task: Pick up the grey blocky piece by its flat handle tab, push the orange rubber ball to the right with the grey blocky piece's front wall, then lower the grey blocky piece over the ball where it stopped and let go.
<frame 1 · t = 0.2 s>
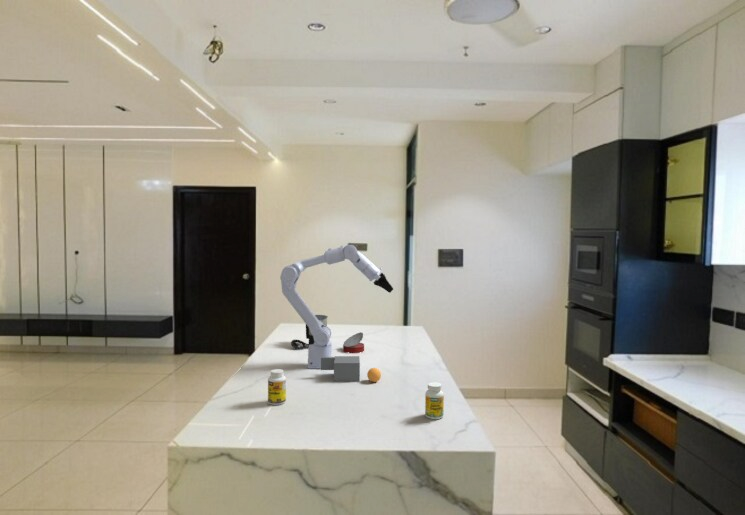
hand: (390, 290, 181), 31 cm above the counter, tool tilted 50°, fingers open, 7 cm apart
canned food: (353, 351, 207), on the counter
supplement bottle 2: (434, 416, 132), on the counter
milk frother: (309, 348, 212), on the counter
ball: (374, 374, 163), on the counter
grey blocky piece: (346, 377, 167), on the counter
supplement bottle: (276, 403, 141), on the counter
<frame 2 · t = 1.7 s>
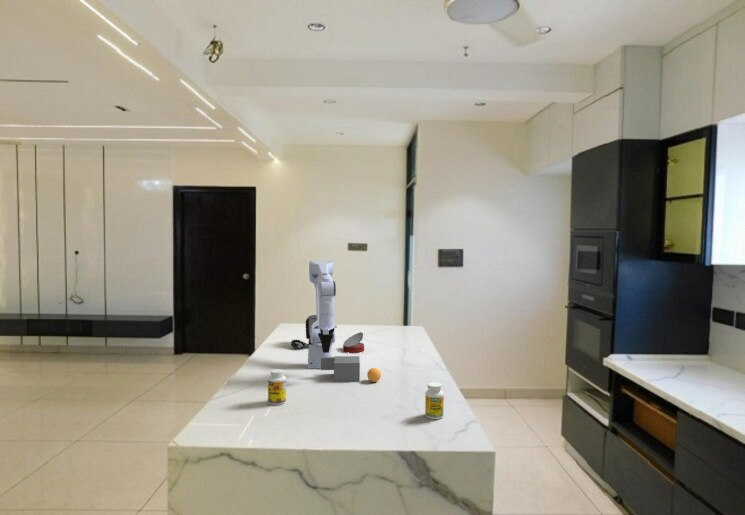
hand: (326, 350, 166), 11 cm above the counter, tool pointing down, fingers open, 7 cm apart
nothing on the counter moved.
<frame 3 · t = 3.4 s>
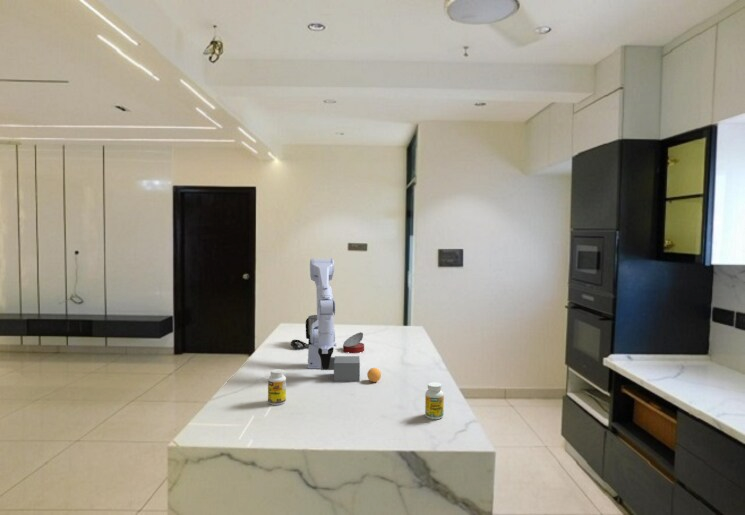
hand: (325, 368, 167), 4 cm above the counter, tool pointing down, fingers closed on grey blocky piece
grey blocky piece: (346, 377, 167), on the counter, touching gripper
everything else where it was.
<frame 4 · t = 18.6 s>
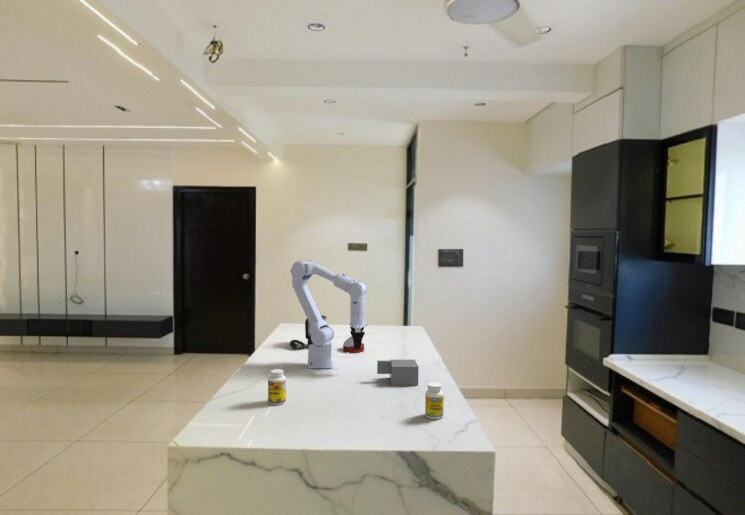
hand: (357, 346, 176), 9 cm above the counter, tool pointing down, fingers open, 7 cm apart
ball: (406, 374, 164), on the counter
grey blocky piece: (403, 381, 164), on the counter
everything else where it was.
at the end: ball 1.3 cm from the grey blocky piece (horizontally); grey blocky piece on the counter; ball moved 12.1 cm from its start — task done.
